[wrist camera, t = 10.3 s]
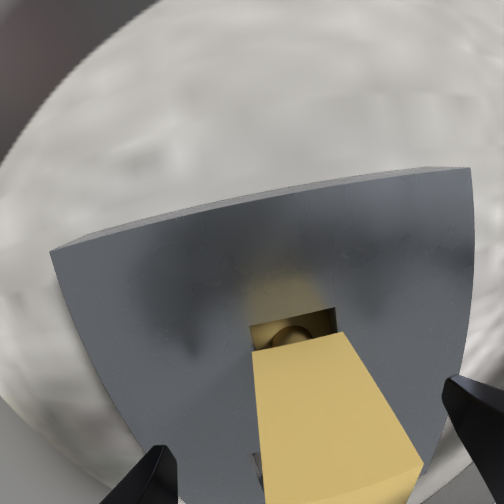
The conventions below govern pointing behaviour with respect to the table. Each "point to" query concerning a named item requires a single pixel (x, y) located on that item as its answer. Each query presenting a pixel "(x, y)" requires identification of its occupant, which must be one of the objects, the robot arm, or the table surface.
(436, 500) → the white power strip
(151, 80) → the table surface
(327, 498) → the peg
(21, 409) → the table surface
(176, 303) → the keyhole plate
